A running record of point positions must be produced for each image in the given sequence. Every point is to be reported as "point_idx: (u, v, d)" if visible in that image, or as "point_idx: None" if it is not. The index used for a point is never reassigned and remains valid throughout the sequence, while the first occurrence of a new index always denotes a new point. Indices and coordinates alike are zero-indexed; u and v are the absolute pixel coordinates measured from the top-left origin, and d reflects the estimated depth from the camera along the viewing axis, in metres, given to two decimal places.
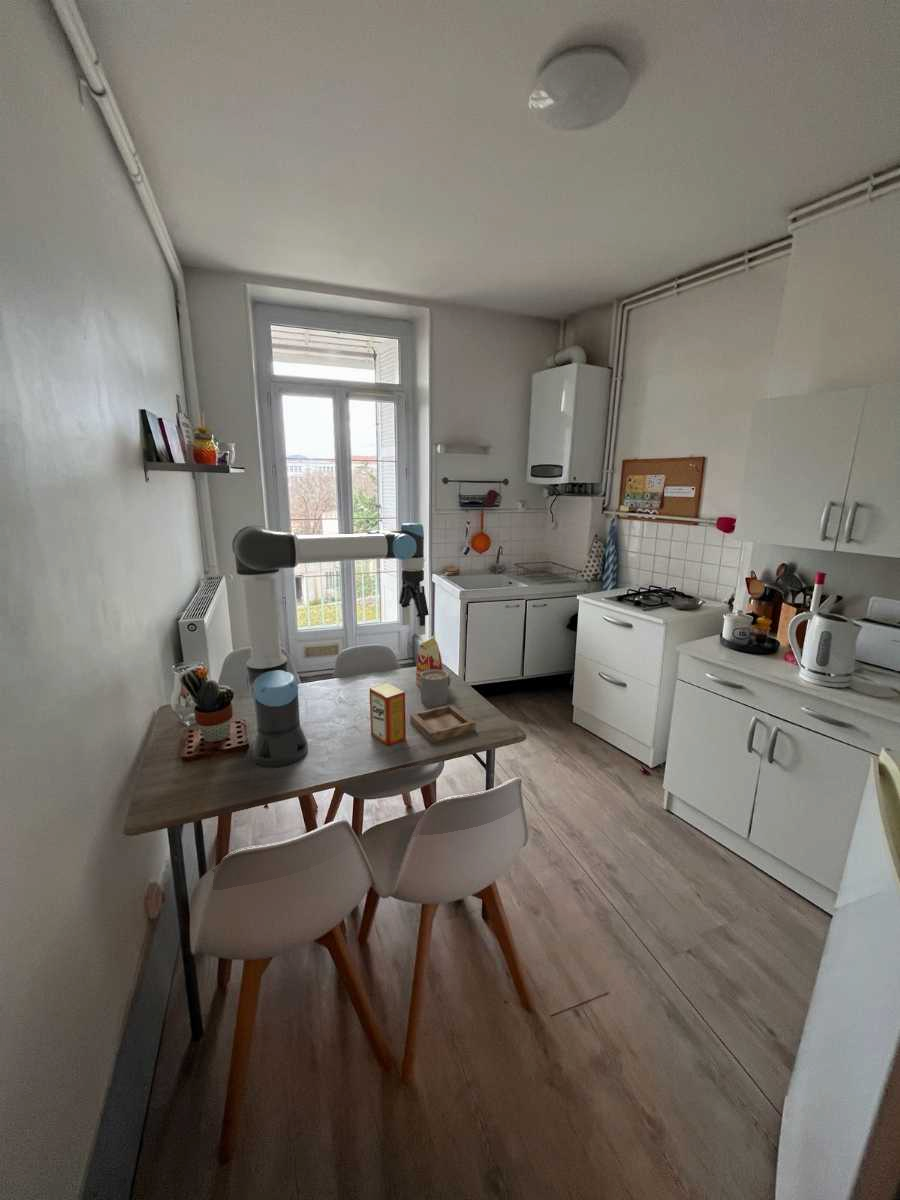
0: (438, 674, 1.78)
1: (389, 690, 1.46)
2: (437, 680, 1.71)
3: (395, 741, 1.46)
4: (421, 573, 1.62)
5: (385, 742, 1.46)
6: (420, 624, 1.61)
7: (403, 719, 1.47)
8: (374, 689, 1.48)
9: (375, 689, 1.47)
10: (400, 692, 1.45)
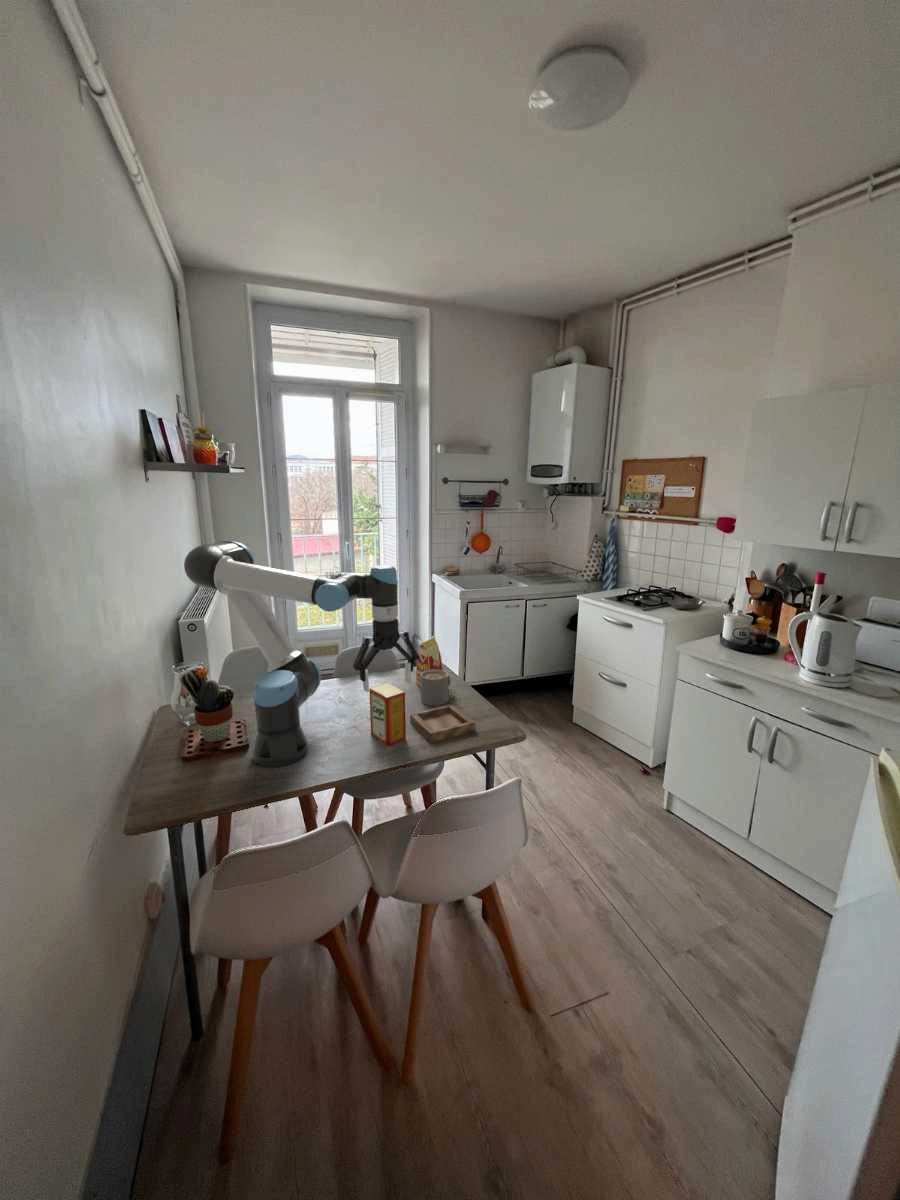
0: (438, 674, 1.78)
1: (389, 690, 1.46)
2: (437, 680, 1.71)
3: (395, 741, 1.46)
4: (377, 624, 1.39)
5: (385, 742, 1.46)
6: None
7: (403, 719, 1.47)
8: (374, 689, 1.48)
9: (375, 689, 1.47)
10: (400, 692, 1.45)
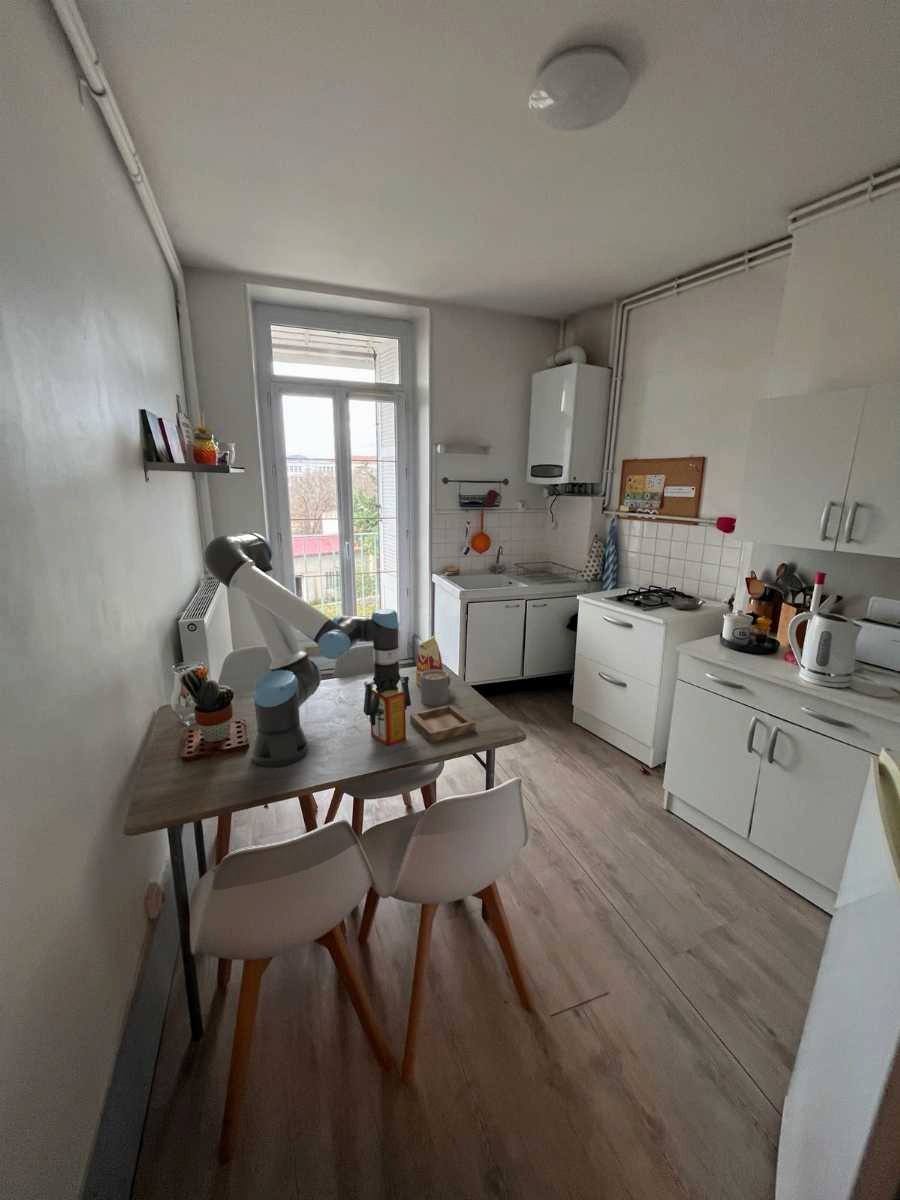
0: (438, 674, 1.78)
1: (389, 690, 1.46)
2: (437, 680, 1.71)
3: (395, 741, 1.46)
4: (378, 667, 1.42)
5: (385, 742, 1.46)
6: None
7: (403, 719, 1.47)
8: (374, 689, 1.48)
9: (375, 689, 1.47)
10: (400, 692, 1.45)
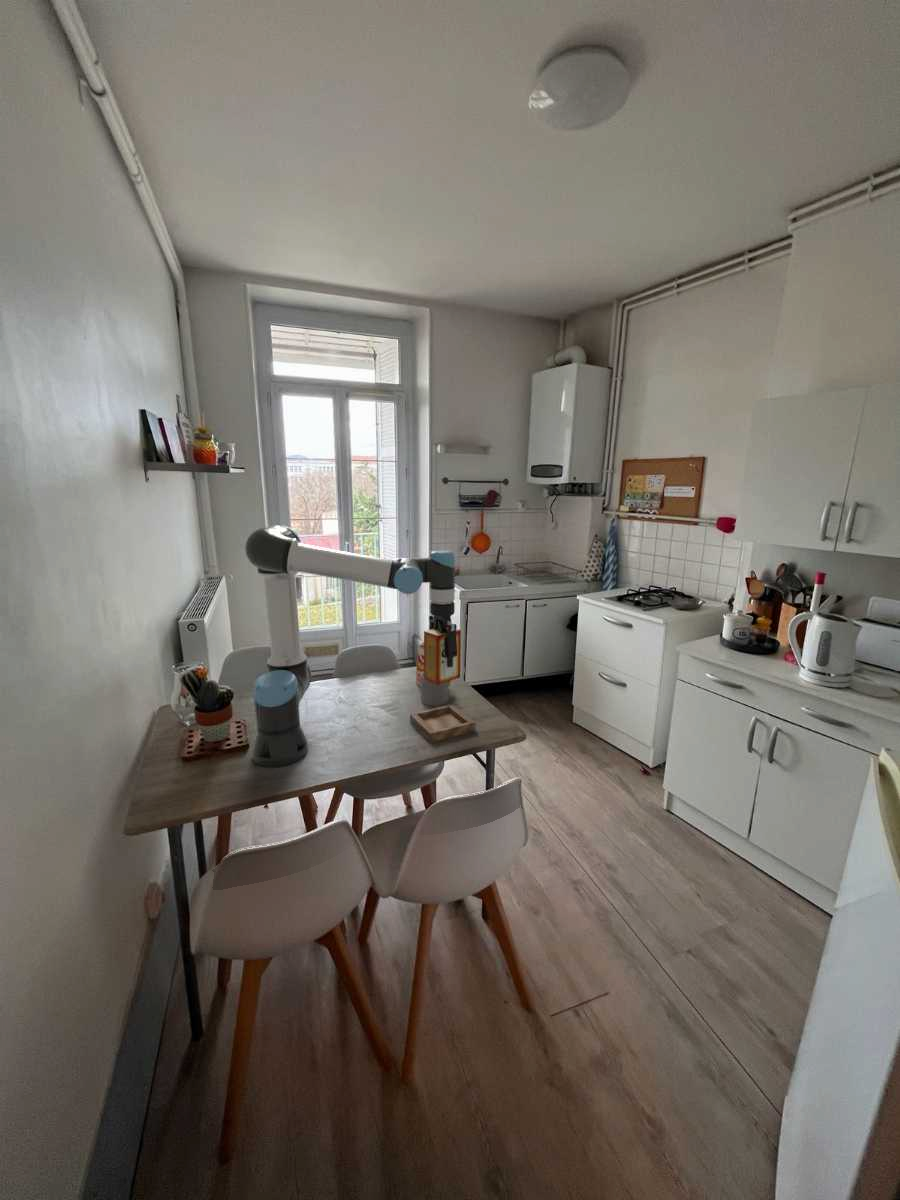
0: None
1: None
2: None
3: None
4: (452, 606, 1.46)
5: (457, 676, 1.53)
6: (447, 665, 1.48)
7: None
8: (439, 634, 1.46)
9: (440, 633, 1.47)
10: None
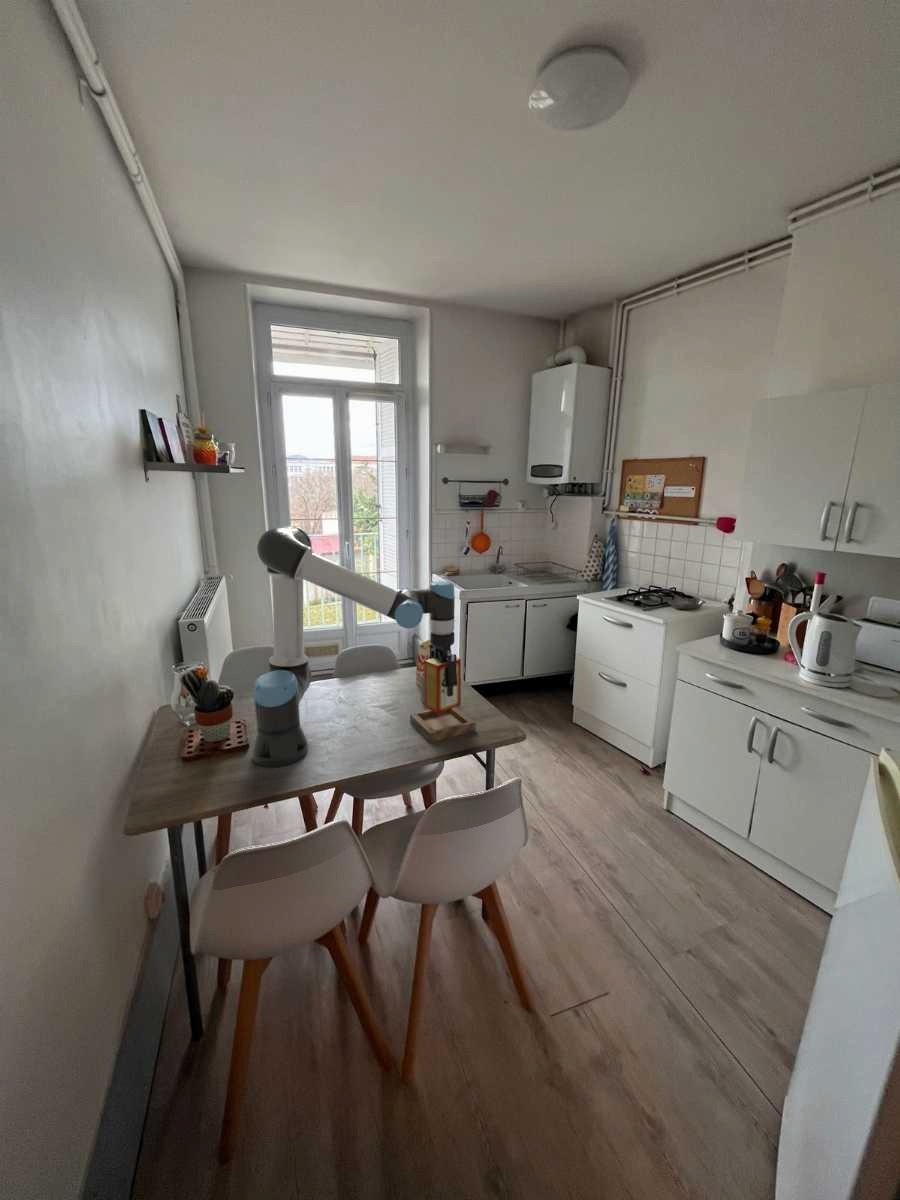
0: None
1: None
2: None
3: None
4: (452, 636, 1.49)
5: (457, 704, 1.55)
6: (448, 694, 1.50)
7: None
8: (439, 664, 1.48)
9: (441, 663, 1.49)
10: None
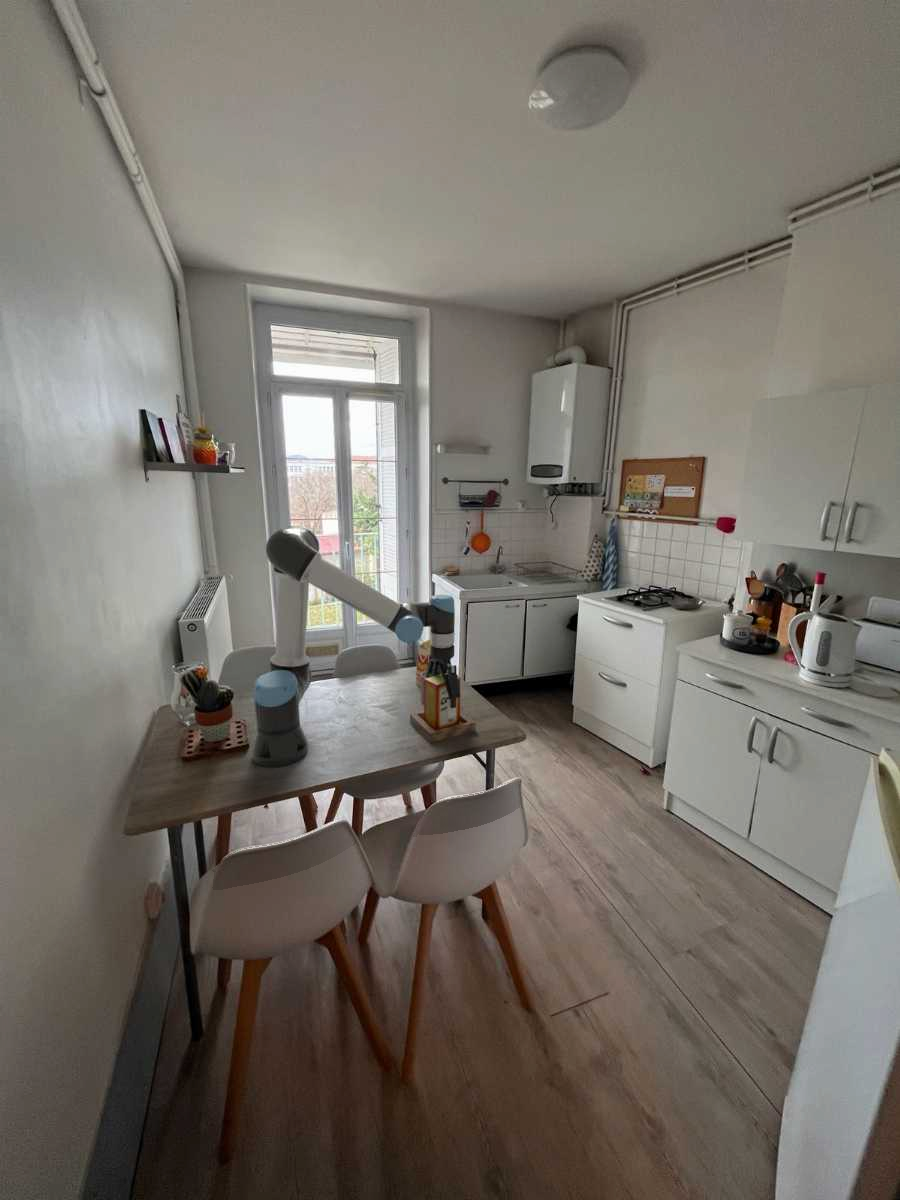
0: None
1: None
2: None
3: None
4: (452, 649, 1.49)
5: (456, 722, 1.56)
6: (451, 706, 1.49)
7: None
8: (438, 683, 1.50)
9: (440, 682, 1.50)
10: (447, 673, 1.58)
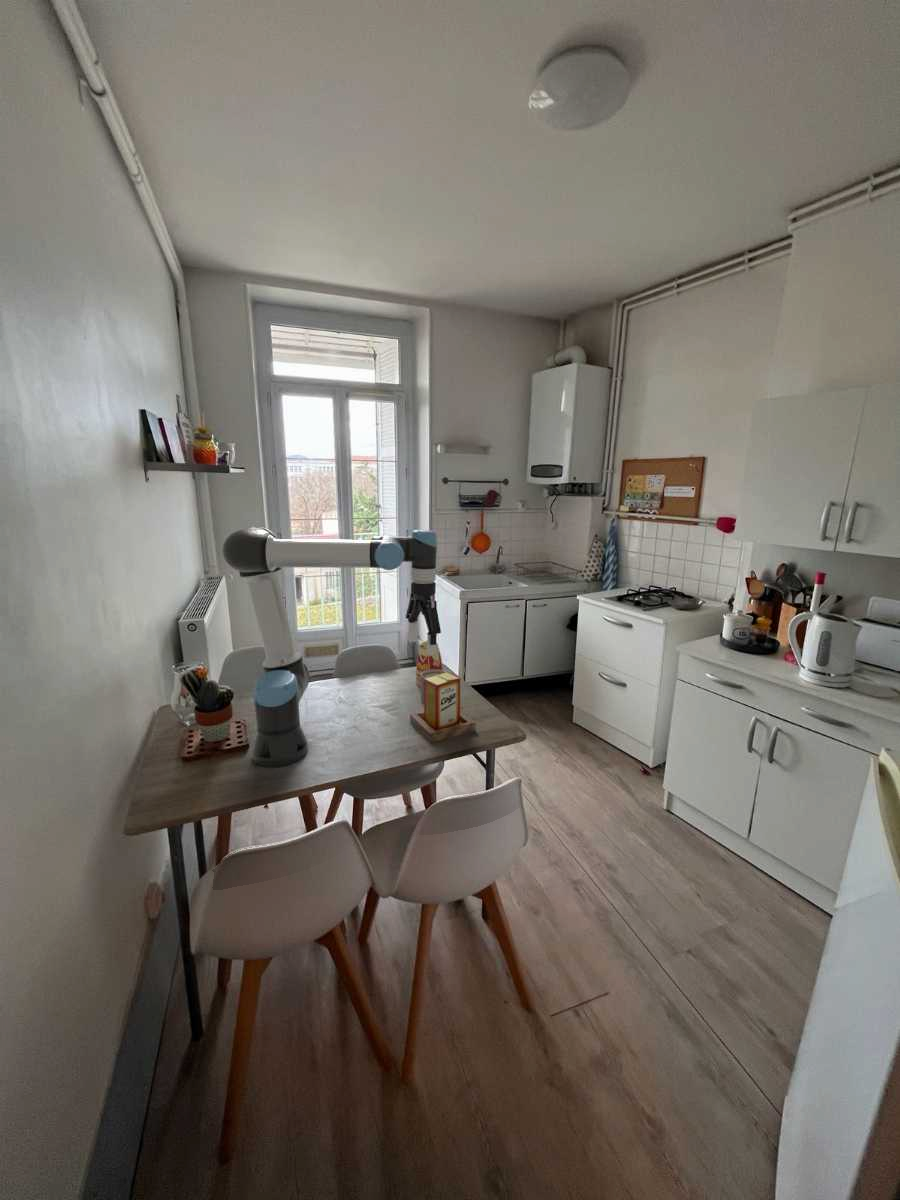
0: (438, 674, 1.78)
1: (444, 677, 1.54)
2: None
3: None
4: (433, 586, 1.46)
5: (456, 722, 1.56)
6: (431, 643, 1.44)
7: None
8: (438, 683, 1.50)
9: (440, 682, 1.50)
10: (447, 673, 1.58)
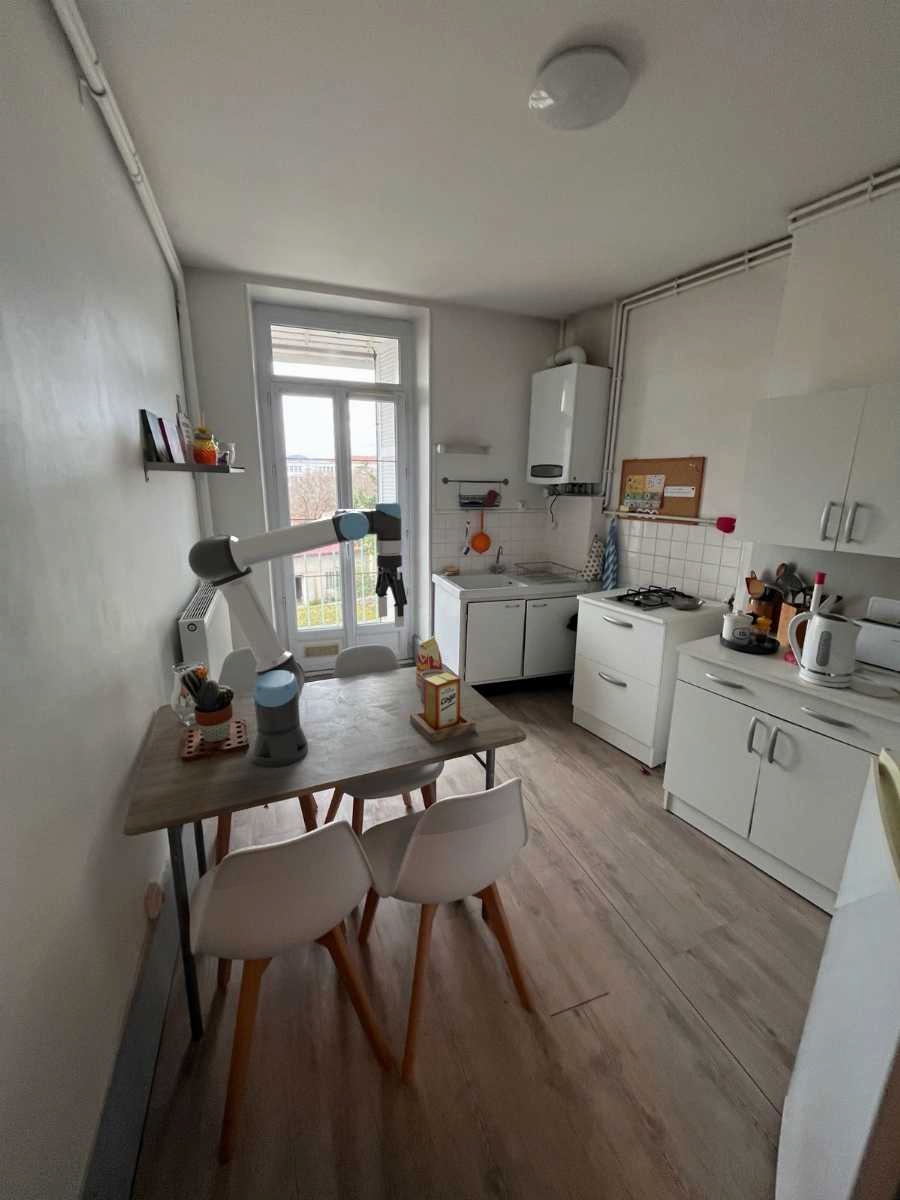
0: (438, 674, 1.78)
1: (444, 677, 1.54)
2: None
3: None
4: (399, 558, 1.46)
5: (456, 722, 1.56)
6: (398, 615, 1.44)
7: None
8: (438, 683, 1.50)
9: (440, 682, 1.50)
10: (447, 673, 1.58)
